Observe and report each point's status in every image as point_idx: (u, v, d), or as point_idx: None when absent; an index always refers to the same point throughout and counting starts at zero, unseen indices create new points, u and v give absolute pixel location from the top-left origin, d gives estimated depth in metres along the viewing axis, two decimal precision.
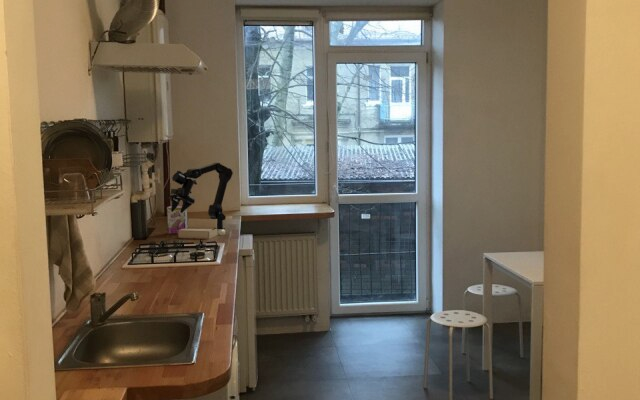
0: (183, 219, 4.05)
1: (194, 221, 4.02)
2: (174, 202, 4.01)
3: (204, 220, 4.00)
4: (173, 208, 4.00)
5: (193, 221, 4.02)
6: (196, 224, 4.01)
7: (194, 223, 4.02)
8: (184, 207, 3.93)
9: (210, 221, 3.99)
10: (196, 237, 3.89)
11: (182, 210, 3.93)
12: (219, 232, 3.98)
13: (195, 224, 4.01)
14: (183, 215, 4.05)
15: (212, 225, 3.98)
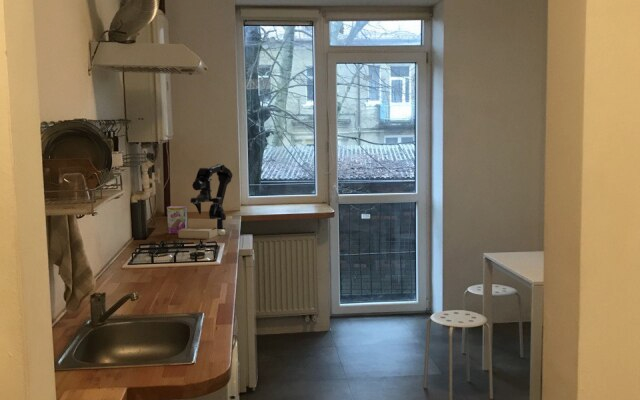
0: (183, 219, 4.05)
1: (194, 221, 4.02)
2: (198, 205, 4.06)
3: (204, 220, 4.00)
4: (200, 210, 4.07)
5: (193, 221, 4.02)
6: (196, 224, 4.01)
7: (194, 223, 4.02)
8: (215, 208, 4.04)
9: (210, 221, 3.99)
10: (196, 237, 3.89)
11: (214, 211, 4.05)
12: (219, 232, 3.98)
13: (195, 224, 4.01)
14: (183, 215, 4.05)
15: (212, 225, 3.98)
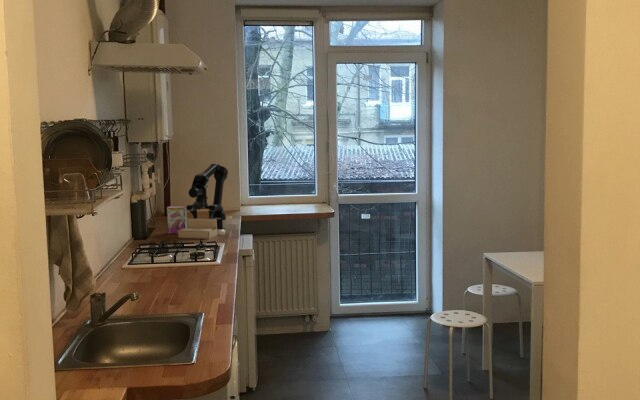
0: (183, 219, 4.05)
1: (194, 221, 4.01)
2: (194, 212, 4.01)
3: (203, 220, 3.99)
4: (196, 218, 4.02)
5: (192, 221, 4.01)
6: (196, 224, 4.01)
7: (194, 223, 4.01)
8: (211, 216, 3.99)
9: (210, 221, 3.98)
10: (196, 237, 3.89)
11: None
12: (219, 232, 3.98)
13: (195, 224, 4.01)
14: (183, 215, 4.05)
15: (212, 225, 3.98)
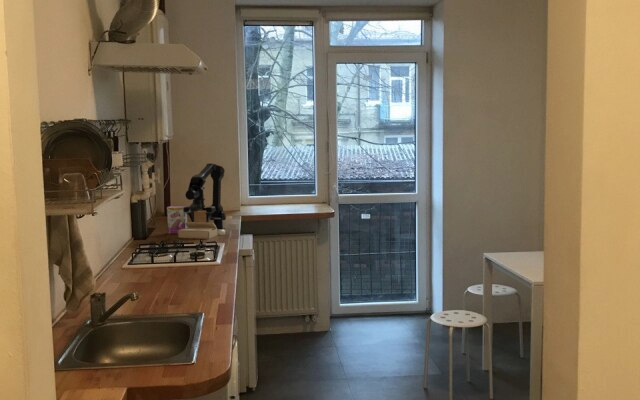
0: (183, 219, 4.05)
1: (192, 224, 3.99)
2: (191, 214, 3.98)
3: (201, 224, 3.96)
4: (193, 219, 3.99)
5: (190, 224, 3.99)
6: (195, 226, 4.00)
7: (192, 225, 4.00)
8: (208, 217, 3.96)
9: (208, 224, 3.95)
10: (196, 237, 3.89)
11: (208, 221, 3.96)
12: (219, 232, 3.98)
13: (194, 226, 4.00)
14: (183, 215, 4.05)
15: (211, 227, 3.97)
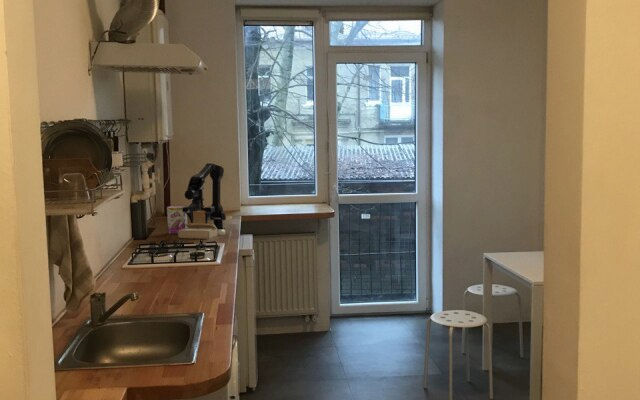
0: (183, 219, 4.05)
1: (191, 225, 3.98)
2: (190, 214, 3.97)
3: (201, 225, 3.96)
4: (192, 220, 3.98)
5: (190, 225, 3.98)
6: (195, 226, 4.00)
7: (192, 226, 4.00)
8: (207, 217, 3.94)
9: (208, 225, 3.95)
10: (196, 237, 3.89)
11: (207, 221, 3.95)
12: (219, 232, 3.98)
13: (194, 226, 4.00)
14: (183, 215, 4.05)
15: (211, 227, 3.97)
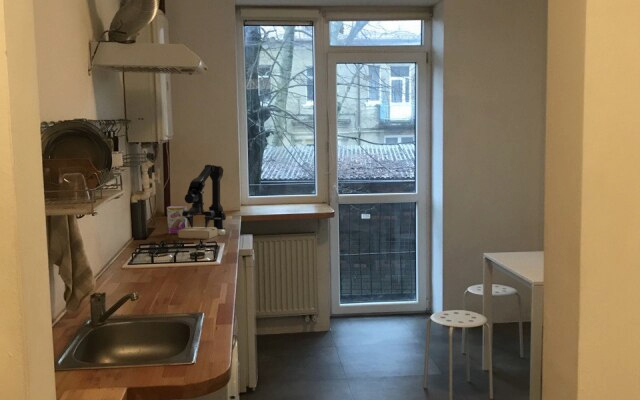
0: (183, 219, 4.05)
1: (191, 228, 3.98)
2: (190, 218, 3.96)
3: (201, 228, 3.96)
4: (192, 224, 3.97)
5: (190, 228, 3.98)
6: (195, 228, 4.00)
7: (192, 228, 3.99)
8: (207, 222, 3.94)
9: None
10: (196, 237, 3.89)
11: (207, 225, 3.95)
12: (219, 232, 3.98)
13: (194, 228, 4.00)
14: None
15: (211, 228, 3.97)
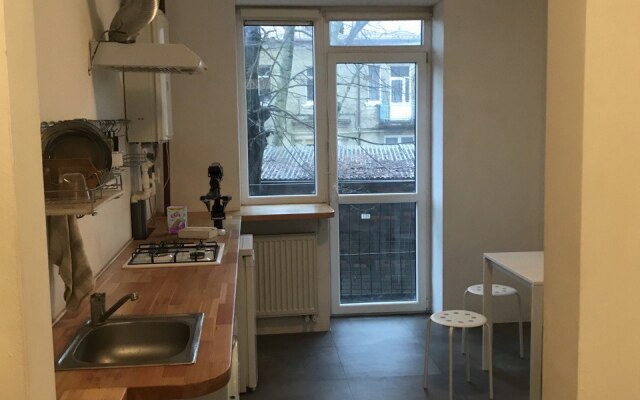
0: (183, 219, 4.05)
1: (191, 228, 3.98)
2: (208, 203, 4.03)
3: (201, 228, 3.96)
4: (209, 208, 4.04)
5: (190, 228, 3.98)
6: (195, 228, 4.00)
7: None
8: (224, 206, 4.01)
9: None
10: (196, 237, 3.89)
11: (224, 209, 4.01)
12: (219, 232, 3.98)
13: (194, 228, 4.00)
14: (183, 215, 4.05)
15: (211, 228, 3.97)
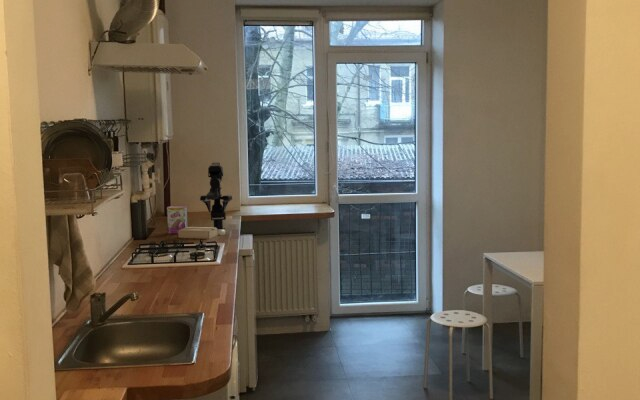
0: (183, 219, 4.05)
1: (191, 228, 3.98)
2: (208, 202, 4.03)
3: (201, 228, 3.96)
4: (209, 208, 4.04)
5: (190, 228, 3.98)
6: (195, 228, 4.00)
7: None
8: (225, 206, 4.01)
9: None
10: (196, 237, 3.89)
11: (224, 209, 4.01)
12: (219, 232, 3.98)
13: (194, 228, 4.00)
14: (183, 215, 4.05)
15: (211, 228, 3.97)
